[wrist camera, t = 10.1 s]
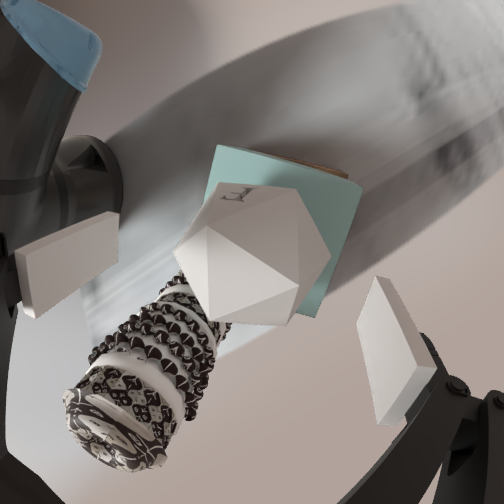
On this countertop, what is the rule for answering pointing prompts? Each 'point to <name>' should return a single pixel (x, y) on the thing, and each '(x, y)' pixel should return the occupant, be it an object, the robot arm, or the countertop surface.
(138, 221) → the countertop surface
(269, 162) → the tower top
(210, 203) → the die
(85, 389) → the decorative candle
